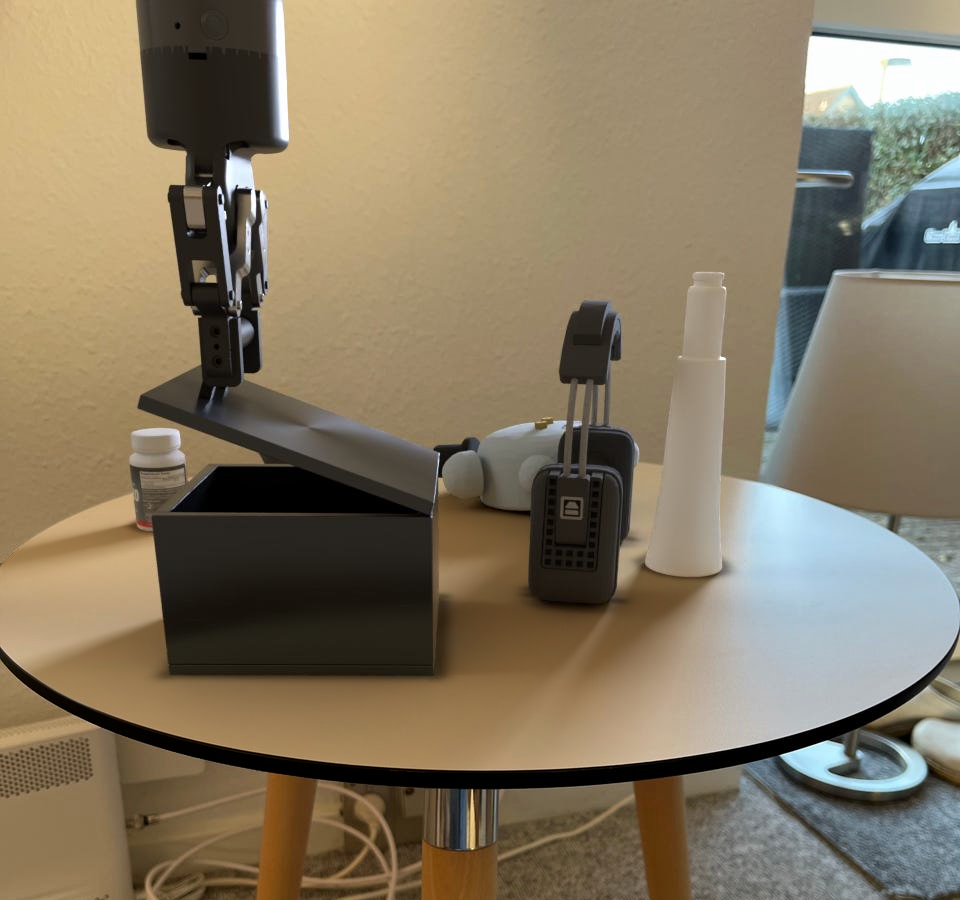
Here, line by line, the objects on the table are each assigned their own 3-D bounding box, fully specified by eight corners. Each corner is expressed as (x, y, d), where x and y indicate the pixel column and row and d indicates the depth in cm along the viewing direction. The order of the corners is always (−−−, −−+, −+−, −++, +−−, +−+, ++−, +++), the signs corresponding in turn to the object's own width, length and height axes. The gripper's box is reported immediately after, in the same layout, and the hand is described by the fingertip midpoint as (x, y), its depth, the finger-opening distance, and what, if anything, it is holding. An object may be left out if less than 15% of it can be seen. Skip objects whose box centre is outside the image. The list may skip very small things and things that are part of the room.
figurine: (653, 486, 104) (473, 488, 111) (651, 402, 101) (465, 410, 108) (611, 529, 89) (405, 528, 96) (606, 431, 86) (394, 438, 93)
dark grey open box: (169, 677, 60) (150, 515, 56) (220, 599, 73) (208, 463, 69) (433, 677, 60) (432, 517, 56) (439, 600, 73) (438, 464, 69)
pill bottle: (142, 519, 92) (131, 426, 89) (196, 518, 93) (187, 426, 89) (132, 534, 88) (120, 437, 85) (188, 532, 88) (178, 436, 85)
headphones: (612, 617, 70) (631, 313, 62) (521, 610, 71) (529, 310, 64) (631, 531, 90) (647, 293, 83) (560, 526, 91) (569, 291, 84)
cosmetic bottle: (718, 582, 77) (749, 274, 69) (639, 573, 79) (660, 273, 71) (725, 559, 83) (754, 271, 74) (650, 552, 84) (671, 270, 76)
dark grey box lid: (136, 408, 54) (161, 311, 52) (198, 374, 67) (220, 295, 65) (429, 515, 56) (463, 426, 55) (436, 463, 69) (463, 389, 67)
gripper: (177, 68, 60) (199, 363, 67) (96, 23, 47) (133, 396, 53) (304, 73, 61) (314, 365, 67) (259, 28, 47) (277, 399, 54)
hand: (234, 377), depth 60 cm, fingers closed on dark grey box lid, 5 cm apart
